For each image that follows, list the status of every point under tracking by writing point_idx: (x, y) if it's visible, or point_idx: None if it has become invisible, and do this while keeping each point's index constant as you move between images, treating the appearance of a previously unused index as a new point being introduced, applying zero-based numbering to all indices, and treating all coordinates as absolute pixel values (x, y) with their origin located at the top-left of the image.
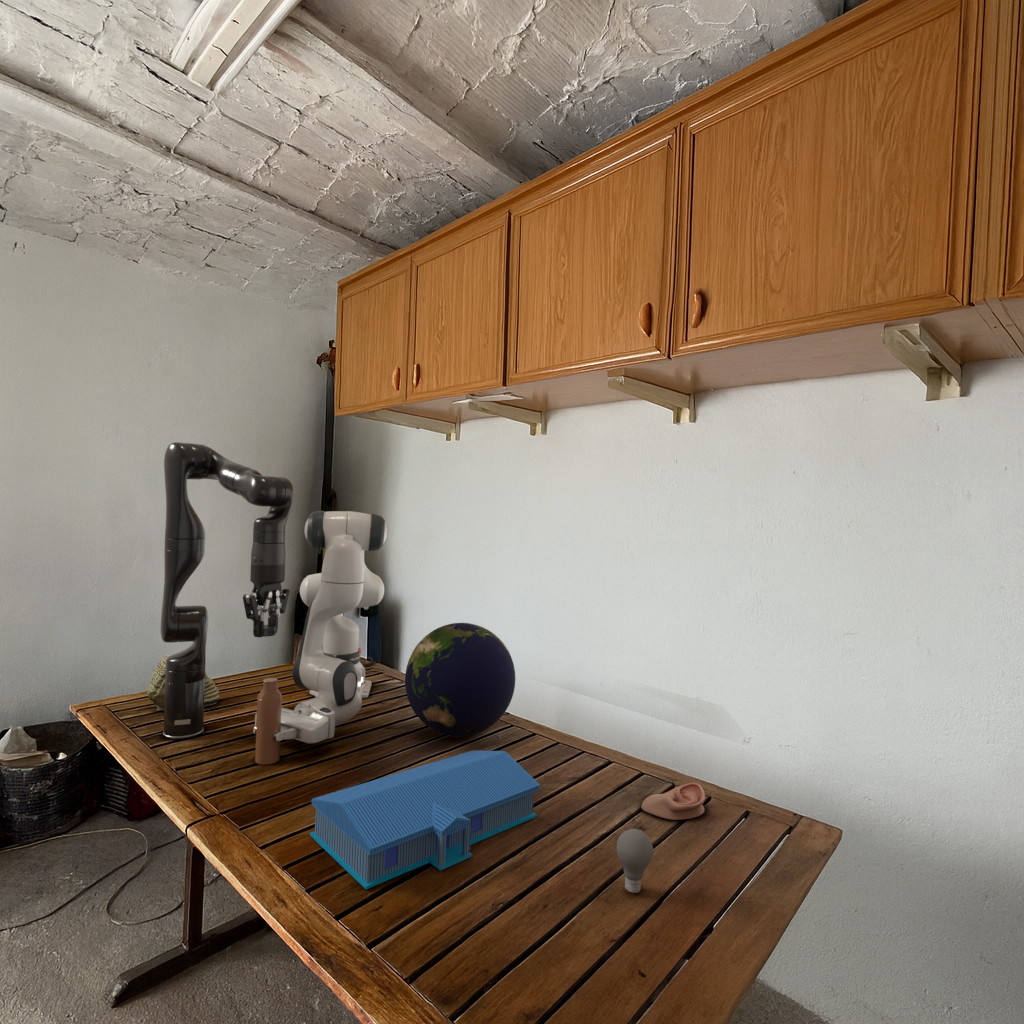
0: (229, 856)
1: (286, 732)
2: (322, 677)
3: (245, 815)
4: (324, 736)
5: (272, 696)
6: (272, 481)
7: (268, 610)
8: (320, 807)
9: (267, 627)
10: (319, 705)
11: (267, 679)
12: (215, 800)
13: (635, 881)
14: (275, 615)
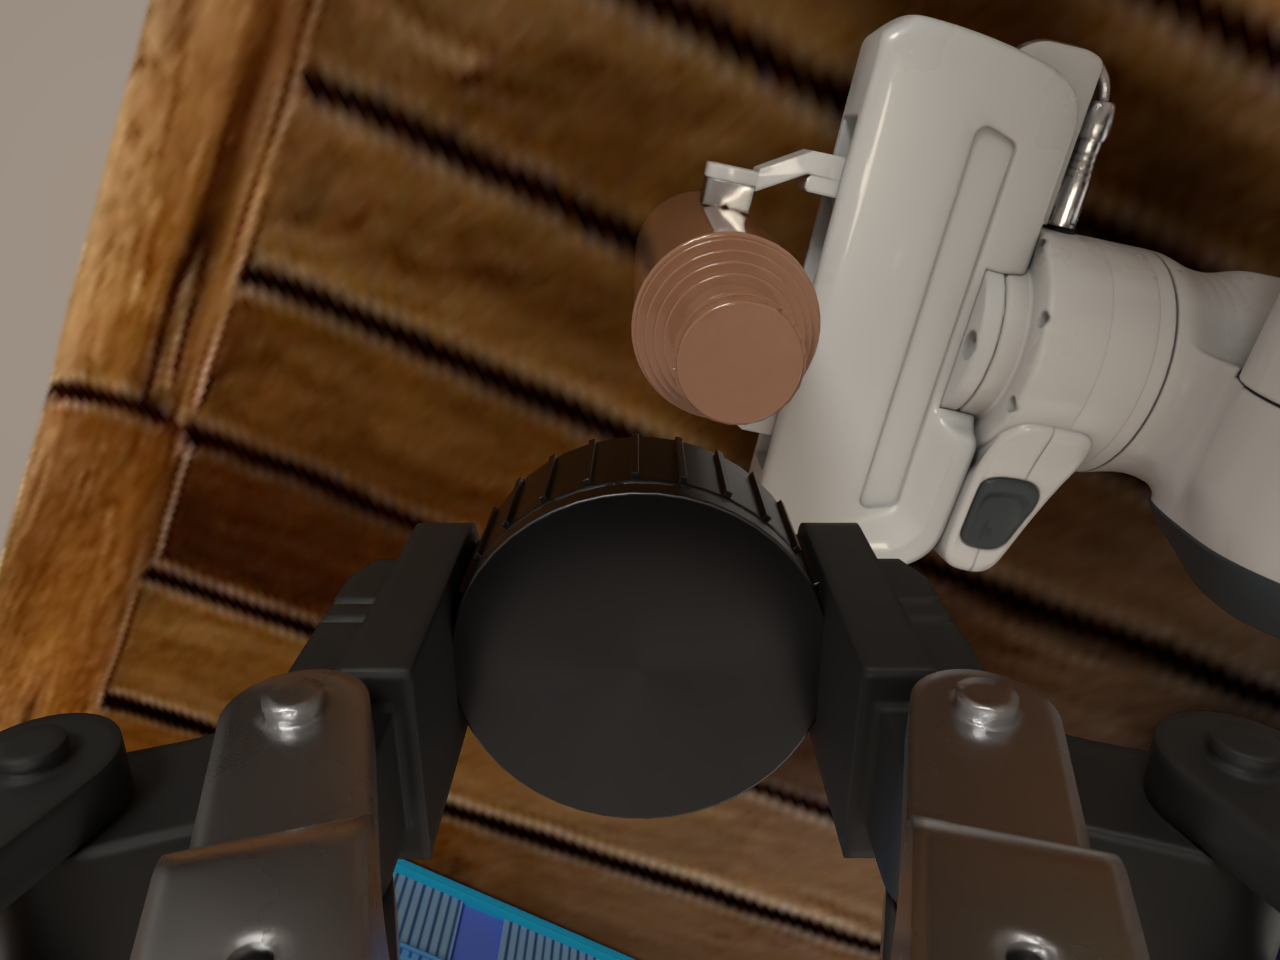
0: (13, 648)
1: None
2: (1265, 463)
3: (227, 525)
4: None
5: (676, 398)
6: None
7: (908, 804)
8: None
9: (589, 732)
10: (1044, 453)
11: (737, 334)
12: (250, 333)
13: None
14: (890, 874)
